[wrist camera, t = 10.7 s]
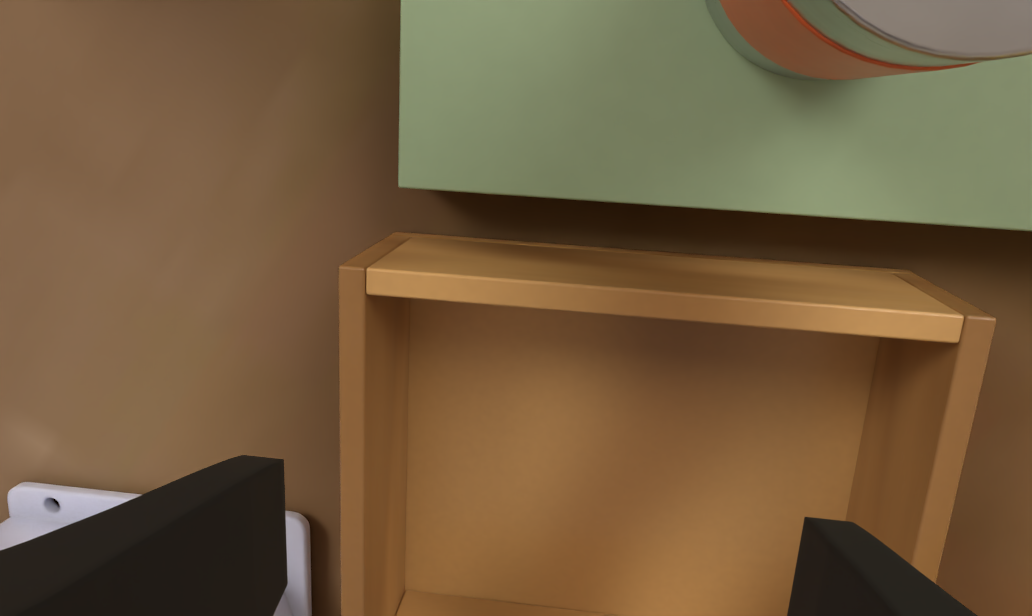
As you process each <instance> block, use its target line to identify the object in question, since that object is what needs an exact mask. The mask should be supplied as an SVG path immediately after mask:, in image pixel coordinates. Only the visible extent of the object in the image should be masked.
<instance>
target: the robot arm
mask: <svg viewBox="0 0 1032 616" xmlns="http://www.w3.org/2000/svg"><path fill="white" fill-rule="evenodd" d="M53 498H54V499H56V500H57V501H58V502H59V505H60V506H58V505H57V504H56V503H55V502H54V500H53ZM7 500H8V507H9V515H10V518H8V519H7V520H5V521H4V522H2V523H1V524H0V616H312V598H311V547H310V526H309V522H308V521H307V519H306V518H305V517H304V516H303V515H301V514H300V513H297V512H293V511H285V485H284V459H275V458H266V457H256V456H247V455H242V456H238V457H235V458H231V459H228V460H225V461H222V462H220V463H217V464H215V465H212V466H209V467H207V468H204V469H202V470H200V471H197V472H195V473H192V474H190V475H188V476H185V477H183V478H181V479H178V480H176V481H174V482H171V483H169V484H167V485H164V486H162V487H159V488H157V489H155V490H152V491H150V492H148V493H145V494H143V495H141V494H132V493H124V492H115V491H106V490H97V489H88V488H79V487H70V486H61V485H52V484H43V483H34V482H22V483H20V484H18V485H17V486H15V487H14V488H12V489H11V490H10V491H9V493H8V498H7ZM787 616H977V615H976V614H974V613H973V612H972V611H970V610H969V609H968V608H966V607H965V606H964V605H962V604H961V603H960V602H959V601H957V600H956V599H955V598H953V597H952V596H951V595H949V594H948V593H947V592H945V591H944V590H943V589H942V588H940V587H939V586H938V585H936V584H935V583H934V582H933V581H931V580H930V579H929V578H927V577H926V576H925V575H924V574H922V573H921V572H920V571H918V570H917V569H916V568H915V567H913V566H912V565H911V564H909V563H908V562H907V561H906V560H904V559H903V558H902V557H900V556H899V555H898V554H897V553H895V552H894V551H893V550H891V549H890V548H889V547H888V546H886V545H885V544H884V543H882V542H881V541H880V540H878V539H877V538H876V537H874V536H873V535H872V534H870V533H869V532H867V531H866V530H864V529H863V528H861V527H860V526H858V525H857V524H855V523H854V522H849V521H840V520H831V519H822V518H813V517H805V518H804V523H803V529H802V534H801V540H800V546H799V551H798V557H797V563H796V568H795V574H794V579H793V585H792V591H791V596H790V602H789V608H788V613H787Z"/></svg>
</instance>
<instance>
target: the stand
mask: <svg viewBox="0 0 1032 616" xmlns="http://www.w3.org/2000/svg"><path fill="white" fill-rule="evenodd" d="M398 186H399V187H400V188H409V189H424V190H438V191H453V192H467V193H482V194H496V195H511V196H525V197H540V198H555V199H569V200H584V201H598V202H613V203H627V204H642V205H656V206H671V207H685V208H700V209H714V210H729V211H743V212H758V213H773V214H787V215H802V216H816V217H831V218H845V219H860V220H874V221H889V222H903V223H918V224H932V225H947V226H962V227H976V228H991V229H1005V230H1020V231H1032V54H1029V55H1026V56H1020V57H1013V58H1006V59H999V60H992V61H984V62H980V63H976V64H973V65H969V66H965V67H959V68H952V69H945V70H937V71H928V72H919V73H909V74H900V75H890V76H881V77H871V78H862V79H852V80H831V79H829V80H802V79H794V78H789V77H785V76H781V75H777V74H775V73H772V72H770V71H768V70H765V69H763V68H761V67H759V66H757V65H756V64H754V63H752V62H751V61H749V60H748V59H746V58H745V57H744V56H743V55H741V54H740V53H739V52H738V51H736V50H735V49H734V48H733V46H732V45H731V44H730V43H729V42H728V41H727V40H726V39H725V38H724V36H723V35H722V33H721V32H720V30H719V29H718V28H717V26H716V25H715V23H714V21H713V19H712V17H711V15H710V13H709V11H708V8H707V5H706V2H705V0H401V10H400V84H399V159H398Z"/></svg>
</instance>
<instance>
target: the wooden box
mask: <svg viewBox="0 0 1032 616" xmlns="http://www.w3.org/2000/svg"><path fill="white" fill-rule="evenodd" d="M338 274H339V405H340V537H341V616H787V613H788V608H789V602H790V596H791V591H792V585H793V579H794V574H795V568H796V563H797V557H798V551H799V546H800V540H801V534H802V529H803V523H804V518H805V517H813V518H822V519H831V520H840V521H849V522H854V523H855V524H857V525H858V526H860V527H861V528H863V529H864V530H866V531H867V532H869V533H870V534H872V535H873V536H874V537H876V538H877V539H878V540H880V541H881V542H882V543H884V544H885V545H886V546H888V547H889V548H890V549H891V550H893V551H894V552H895V553H897V554H898V555H899V556H900V557H902V558H903V559H904V560H906V561H907V562H908V563H909V564H911V565H912V566H913V567H915V568H916V569H917V570H918V571H920V572H921V573H922V574H924V575H925V576H926V577H927V578H929V579H930V580H931V581H933V582H934V583H936V579H937V575H938V571H939V566H940V562H941V558H942V553H943V549H944V545H945V540H946V536H947V532H948V527H949V523H950V519H951V515H952V510H953V506H954V502H955V497H956V493H957V489H958V484H959V480H960V476H961V471H962V467H963V463H964V459H965V454H966V450H967V446H968V441H969V437H970V433H971V428H972V424H973V420H974V415H975V411H976V407H977V403H978V398H979V394H980V390H981V385H982V381H983V377H984V372H985V368H986V364H987V359H988V355H989V351H990V347H991V342H992V338H993V334H994V329H995V325H996V318H995V317H993V316H991V315H989V314H987V313H985V312H984V311H982V310H980V309H978V308H976V307H974V306H973V305H971V304H969V303H967V302H965V301H963V300H962V299H960V298H958V297H956V296H954V295H952V294H950V293H949V292H947V291H945V290H943V289H941V288H939V287H938V286H936V285H934V284H932V283H930V282H928V281H927V280H925V279H923V278H921V277H919V276H917V275H915V274H914V273H912V272H911V271H909V270H902V269H888V268H875V267H861V266H848V265H835V264H821V263H808V262H794V261H781V260H767V259H754V258H741V257H727V256H714V255H700V254H687V253H673V252H660V251H647V250H633V249H620V248H606V247H593V246H579V245H566V244H553V243H539V242H526V241H512V240H499V239H486V238H472V237H459V236H445V235H432V234H418V233H405V232H394V233H393V234H391V235H390V236H388V237H387V238H385V239H383V240H382V241H380V242H378V243H377V244H375V245H373V246H372V247H370V248H368V249H367V250H365V251H363V252H362V253H360V254H358V255H357V256H355V257H353V258H352V259H350V260H348V261H347V262H345V263H343V264H342V265H340V266H339V268H338Z"/></svg>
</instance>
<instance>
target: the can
mask: <svg viewBox="0 0 1032 616" xmlns="http://www.w3.org/2000/svg"><path fill="white" fill-rule="evenodd" d="M705 2H706V5H707V8H708V11H709V13H710V15H711V17H712V19H713V21H714V23H715V25H716V26H717V28H718V29H719V30H720V32H721V33H722V35H723V36H724V38H725V39H726V40H727V41H728V42H729V43H730V44H731V45H732V46H733V48H734V49H735V50H736V51H738V52H739V53H740V54H741V55H743V56H744V57H745V58H746V59H748V60H749V61H751V62H752V63H754V64H756V65H757V66H759V67H761V68H763V69H765V70H768V71H770V72H772V73H775V74H777V75H781V76H785V77H789V78H794V79H802V80H829V79H831V80H852V79H862V78H871V77H881V76H890V75H900V74H909V73H919V72H928V71H937V70H945V69H952V68H959V67H965V66H969V65H973V64H976V63H980V62H984V61H992V60H999V59H1006V58H1013V57H1020V56H1026V55H1029V54H1032V0H705Z"/></svg>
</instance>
